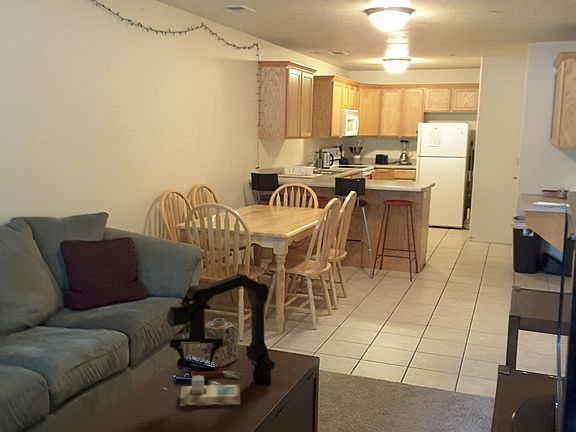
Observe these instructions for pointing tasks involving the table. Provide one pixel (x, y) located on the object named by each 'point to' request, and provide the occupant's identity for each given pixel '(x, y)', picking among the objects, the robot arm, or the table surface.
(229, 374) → the pliers
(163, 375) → the table surface
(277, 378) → the table surface
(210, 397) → the beige slotted block
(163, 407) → the table surface
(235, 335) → the decorative jar
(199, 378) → the steel block
